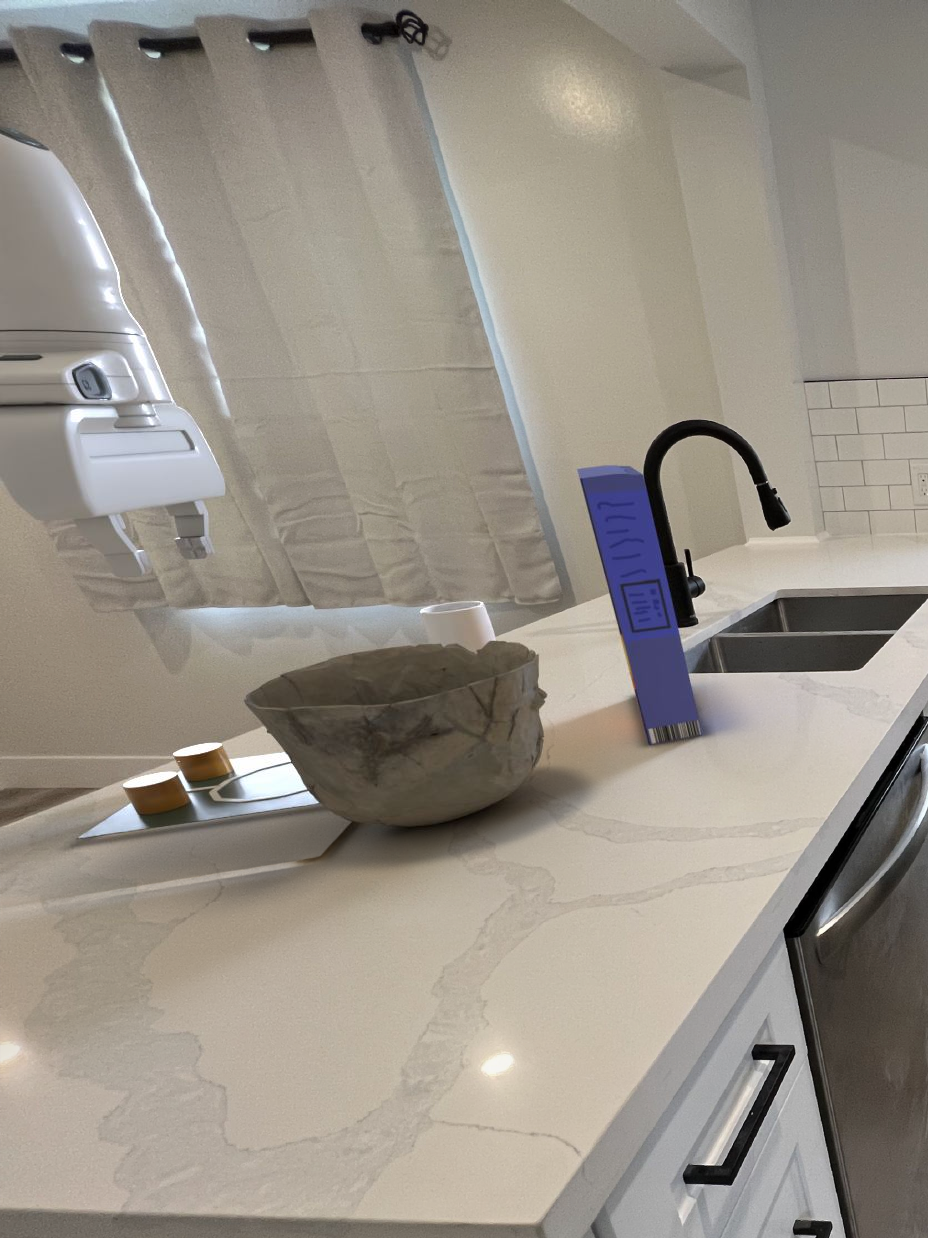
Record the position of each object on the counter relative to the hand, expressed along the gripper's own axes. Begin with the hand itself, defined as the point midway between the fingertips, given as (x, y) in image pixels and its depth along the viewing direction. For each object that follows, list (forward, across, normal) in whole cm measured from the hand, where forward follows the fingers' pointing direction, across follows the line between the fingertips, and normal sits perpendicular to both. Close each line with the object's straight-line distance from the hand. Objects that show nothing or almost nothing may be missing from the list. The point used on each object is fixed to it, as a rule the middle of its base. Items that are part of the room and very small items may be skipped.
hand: (169, 566), depth 70 cm
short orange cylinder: (+24, -22, -15) cm, 36 cm away
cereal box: (+26, -24, +31) cm, 47 cm away
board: (+26, -17, -9) cm, 32 cm away
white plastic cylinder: (+26, -32, +10) cm, 42 cm away
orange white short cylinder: (+24, -12, -15) cm, 32 cm away
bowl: (+26, -1, +13) cm, 28 cm away
